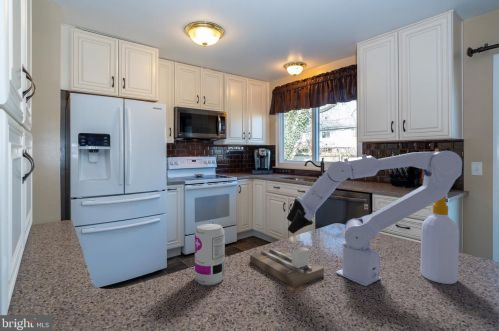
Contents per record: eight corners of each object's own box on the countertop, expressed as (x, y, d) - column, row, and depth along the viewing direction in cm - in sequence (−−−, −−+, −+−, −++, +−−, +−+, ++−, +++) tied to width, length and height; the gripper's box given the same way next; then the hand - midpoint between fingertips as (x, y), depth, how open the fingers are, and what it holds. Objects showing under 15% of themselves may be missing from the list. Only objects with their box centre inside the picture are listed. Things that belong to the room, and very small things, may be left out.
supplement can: (196, 288, 68) (195, 231, 67) (194, 274, 75) (194, 223, 75) (226, 284, 70) (226, 229, 69) (221, 271, 78) (221, 221, 77)
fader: (309, 267, 74) (309, 249, 74) (298, 271, 72) (299, 252, 71) (301, 263, 77) (302, 246, 76) (291, 267, 74) (291, 249, 74)
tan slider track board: (323, 276, 75) (323, 265, 75) (293, 288, 68) (294, 276, 68) (277, 254, 91) (277, 245, 91) (250, 262, 84) (250, 252, 84)
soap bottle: (447, 271, 78) (450, 193, 77) (463, 286, 69) (467, 198, 68) (415, 268, 80) (417, 192, 80) (426, 282, 71) (429, 196, 70)
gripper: (305, 179, 85) (279, 208, 88) (310, 194, 71) (279, 229, 74) (321, 191, 85) (295, 220, 89) (330, 209, 71) (299, 243, 75)
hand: (289, 225), depth 82 cm, fingers open, 7 cm apart
